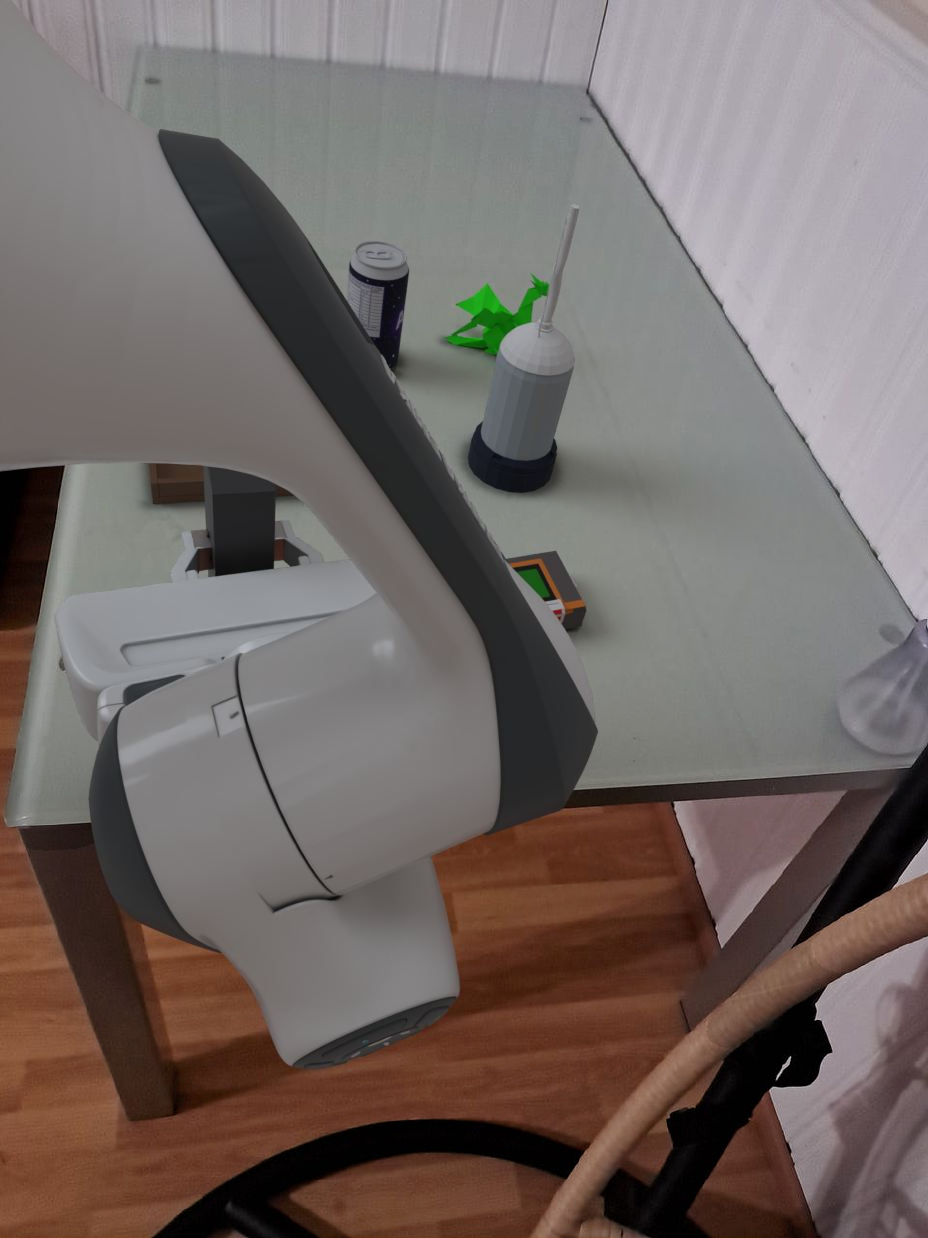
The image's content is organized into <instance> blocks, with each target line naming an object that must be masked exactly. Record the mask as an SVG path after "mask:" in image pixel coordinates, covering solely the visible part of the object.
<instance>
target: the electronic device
mask: <svg viewBox="0 0 928 1238" xmlns="http://www.w3.org/2000/svg"><path fill="white" fill-rule="evenodd" d="M506 560H507V562H508V563H509V565H510V566H511V567H512V568H513V569H514V570H515V571H516V572H517V573H518V574H519V575H520V576H521V577H522V578H523V579H524V580H525V581H526V582H527V583H528V584H529V585H530V586H531V587H532V588H533V590H534V591H535V592H536V593H537V594H538V595H539V596H540V597H541V598H542V599H543V600H544V601H545V603H546V604H547V605H548V606H549V608H550V609H551V610H552V611H553V613H554V614H555V615H556V617H557V618H558V619H559V621H560V623H561V624H562V626H563V627H564V629H565V630H568V629H569V630H570V629H574V628H578V627H582V625H583V623H584V619H585V616H586V613H587V606H586V604H585V602H584V600H583V598H582V597H581V595H580V592H579V591H578V585H577V583H576V582H575V580H574V578H573V577H572V575H570V574H569V572H568V570H567V567H566V566H565V565H564V563H563V561H562V559H561V557H560V555H559V554H558V551H557V550H551V551H546V552H540V553H539V552H538V553H532V554H526V555H521V556H520V555H519V556H515V557H509V558H507V557H506Z"/></svg>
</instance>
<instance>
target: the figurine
mask: <svg viewBox="0 0 928 1238" xmlns="http://www.w3.org/2000/svg"><path fill="white" fill-rule="evenodd" d="M530 275H531V277H532V279H533V280H529V281H530V282H531V283H532V285H533V286H534V287H530V288H527V290H526V292H525V295H524V297H523V299H522V301H521V303H520V306H519V307H518V309H517V312H515V313H512V312H511V311H510V310H509V309H507V307H505V305H503V304H502V303H501V301H500V299H499V298H498V296H497V295H496V294H495V292H494V291H493V289H492V288H491V286H490V284H489V283H488V282H487V283H486V284H485V285H484V286H483V287H482V288H480V289H479V290H478V291H477V292H476V293H475V294H474V295H473V296H471V297H468V298H466V299H464V300H461V301H459V302H458V303H455V306H456V307H459V308H460V309H462V310H464V311H465V312H466V313H468V314H470V315H472V316H473V317H471V318H470V321H469V322H468V323H466V324H465V325H463V326H462V327H460V328H459V329H457V330H455V331H454V332H453V333H451V335H449V336H444V337H443V338H444V339H445V340H446V341H448V342H449V343H450V344H452V345H455V346H461V347H469V348H478V349H484V350H483V352H484V353H487V354H489V355H491V356H493V355H497V353H498V351H499V348H500V344H501V342H502V340H503V339H504V337H505V336H506V335H507V334H508V333H509V332H510V331H512V330H513V329H515V328H516V327H518V326H521V325H524V324H527V323H530V322H532V317H533V310H534V309H533V308H534V302H535V301H537V300H538V299H540V298H542V296H543V297H547V292H548V288H549V284H550V283H549V282H547V281H544V280H540V279H539V278H538V277H537V276H536V275H534V274H533V273H532V272H530ZM478 325H480V326H482V327H484V328H482V334H481V335H482V337H473V336H472V337H471V336H460V335H459V334H462V333H465V332H467V331H470V330H472V329H474V328H477V327H478ZM486 347H488V348H486Z"/></svg>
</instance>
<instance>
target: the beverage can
mask: <svg viewBox="0 0 928 1238" xmlns="http://www.w3.org/2000/svg"><path fill="white" fill-rule="evenodd" d="M407 260H408V256H407V254H406V252H405V251H404V250H403V249H402V248H401V247H399V246H398V245H395V244H393V243H390V242H387V241H382V240H368V241H364V242H361V243H359V244H358V245H357V246H355V249H354V253H353V255H352V256H351V258H350V259H349V265H348V278H347V290H346V300H347V302H348V303H349V305H350V306H351V308H352V309H353V311H354V313H355V314H356V316H357V317H358V319H359V320H360V322H361V324H362V325H363V327H364V328H365V330H366V332H367V333H368V335H369V336H370V338H371V340H372V341H373V343H374V344H375V346H376V347H377V349H378V350H379V352H380V353H381V355H383V357H384V359H385V360H386V363H387V365H388V367H389V368H390V370H391V369H393V368H395V367H396V366H397V365H398V362H399V357H400V350H401V349H400V348H401V339H402V332H403V326H404V325H403V324H404V316H405V309H406V300H407V292H408V286H409V285H408V282H409V277H410V267H409V263H408V262H407Z"/></svg>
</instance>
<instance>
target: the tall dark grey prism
mask: <svg viewBox="0 0 928 1238" xmlns="http://www.w3.org/2000/svg"><path fill="white" fill-rule="evenodd" d="M203 474H204V496H205V501H204V514H205V529H208V531H209V538H210V540H211V546H212V569H210V570H207V578H208V577H215V576H223V575H231V574H238V573H246V572H254V571H261V570H269V569H275V561H274V549H275V521H276V511H277V509H276V507H277V503H276V502H277V497H276V489H275V485H274V483H272V482H271V481H268V480H265V479H263V478H260V477H257V476H254V475H251V474H247V473H243V472H239V471H234V470H230V469H224V468H217V467H209V466H203Z"/></svg>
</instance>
